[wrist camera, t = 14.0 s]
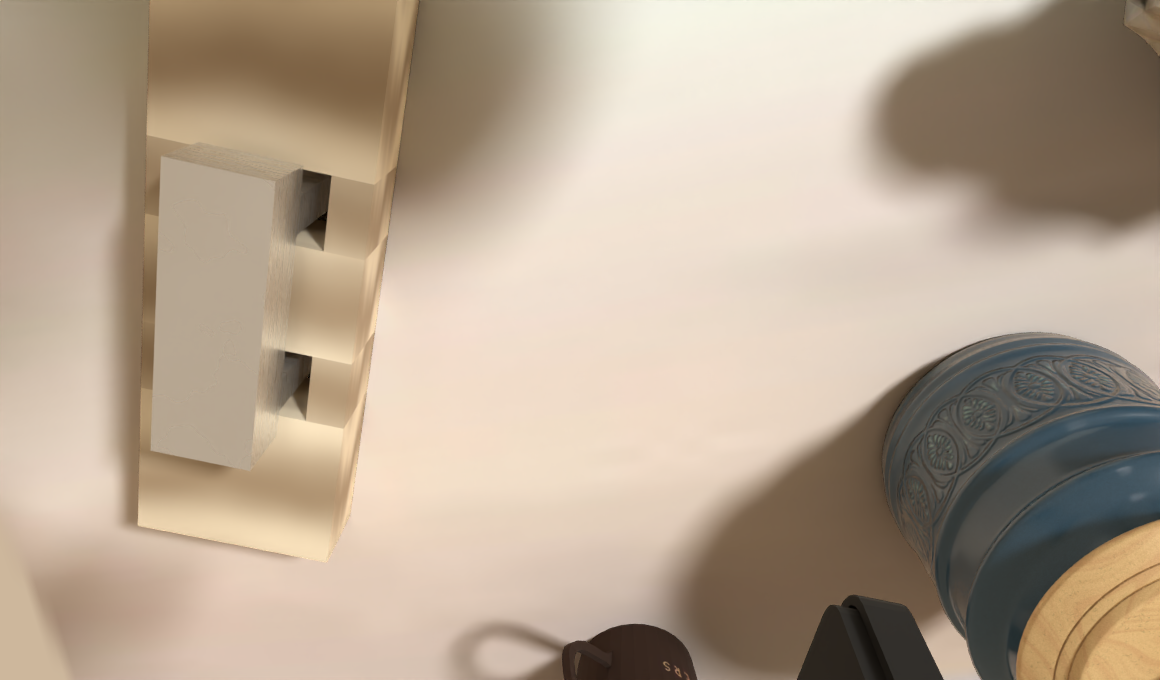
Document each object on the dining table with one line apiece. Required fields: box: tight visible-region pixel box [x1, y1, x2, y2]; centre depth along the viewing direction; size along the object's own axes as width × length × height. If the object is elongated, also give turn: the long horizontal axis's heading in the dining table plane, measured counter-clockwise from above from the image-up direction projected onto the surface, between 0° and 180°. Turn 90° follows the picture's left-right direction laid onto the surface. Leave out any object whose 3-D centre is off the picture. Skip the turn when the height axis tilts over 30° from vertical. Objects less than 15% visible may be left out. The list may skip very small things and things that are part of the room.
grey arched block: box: [151, 142, 332, 471], centre depth 36 cm, size 12×4×8 cm, turn 167°
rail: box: [138, 0, 419, 563], centre depth 38 cm, size 26×9×4 cm, turn 168°
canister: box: [882, 332, 1160, 680], centre depth 34 cm, size 13×13×18 cm
